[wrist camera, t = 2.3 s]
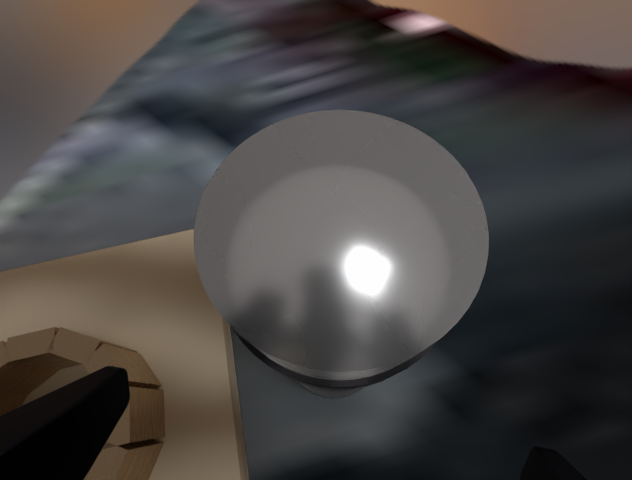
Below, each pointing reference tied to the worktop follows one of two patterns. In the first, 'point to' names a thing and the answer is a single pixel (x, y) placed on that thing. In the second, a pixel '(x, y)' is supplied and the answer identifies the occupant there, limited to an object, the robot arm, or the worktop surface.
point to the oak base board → (145, 341)
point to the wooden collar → (76, 349)
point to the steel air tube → (340, 247)
